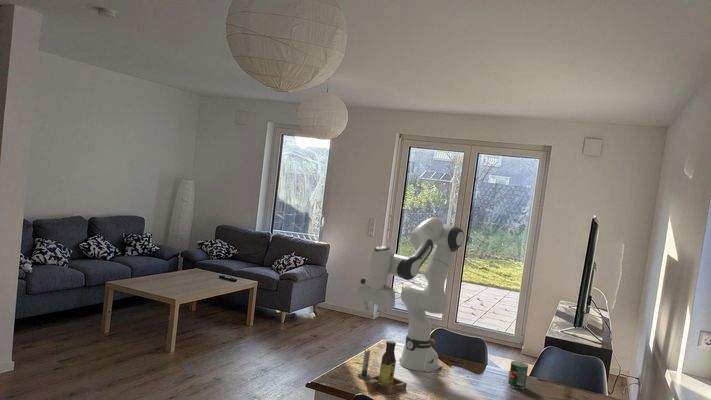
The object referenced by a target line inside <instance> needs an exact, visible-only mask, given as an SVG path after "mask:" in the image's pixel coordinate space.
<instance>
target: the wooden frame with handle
mask: <svg viewBox="0 0 711 400" xmlns="http://www.w3.org/2000/svg"><path fill="white" fill-rule="evenodd" d="M370 376H371V377H366V379H365V385H367V386H366V390H367V391H368V390H369V391H368V392H371V393H373V392H380V393H382V394H384V395H386V396H388V395H391V394H395V393H399V392H405V391H407V385H408V383H407V382H405V381H403V380H400V379H399V378H396V377H394V378H393V385H391V386H385V385H383V384H381V383H379V374H378V375H377V374H376V375H370Z"/></svg>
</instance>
